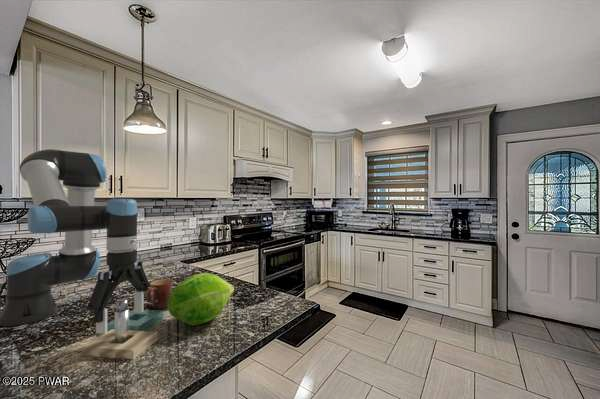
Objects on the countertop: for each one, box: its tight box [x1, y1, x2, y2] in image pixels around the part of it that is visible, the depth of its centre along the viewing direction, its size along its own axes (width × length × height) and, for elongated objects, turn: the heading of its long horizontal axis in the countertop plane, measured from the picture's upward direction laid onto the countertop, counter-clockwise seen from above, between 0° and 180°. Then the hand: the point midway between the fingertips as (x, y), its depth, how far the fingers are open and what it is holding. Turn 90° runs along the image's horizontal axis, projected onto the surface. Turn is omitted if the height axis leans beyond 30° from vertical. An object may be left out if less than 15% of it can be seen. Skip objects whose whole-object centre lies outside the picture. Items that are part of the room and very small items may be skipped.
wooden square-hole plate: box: [81, 329, 159, 360], centre depth 76 cm, size 16×10×2 cm, turn 83°
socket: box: [107, 308, 164, 332], centre depth 90 cm, size 12×12×3 cm
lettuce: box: [167, 272, 235, 326], centre depth 93 cm, size 19×25×17 cm
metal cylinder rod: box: [114, 298, 130, 344], centre depth 76 cm, size 4×4×14 cm
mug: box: [146, 278, 175, 310], centre depth 105 cm, size 12×9×10 cm
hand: (121, 321), depth 76 cm, fingers open, 13 cm apart
